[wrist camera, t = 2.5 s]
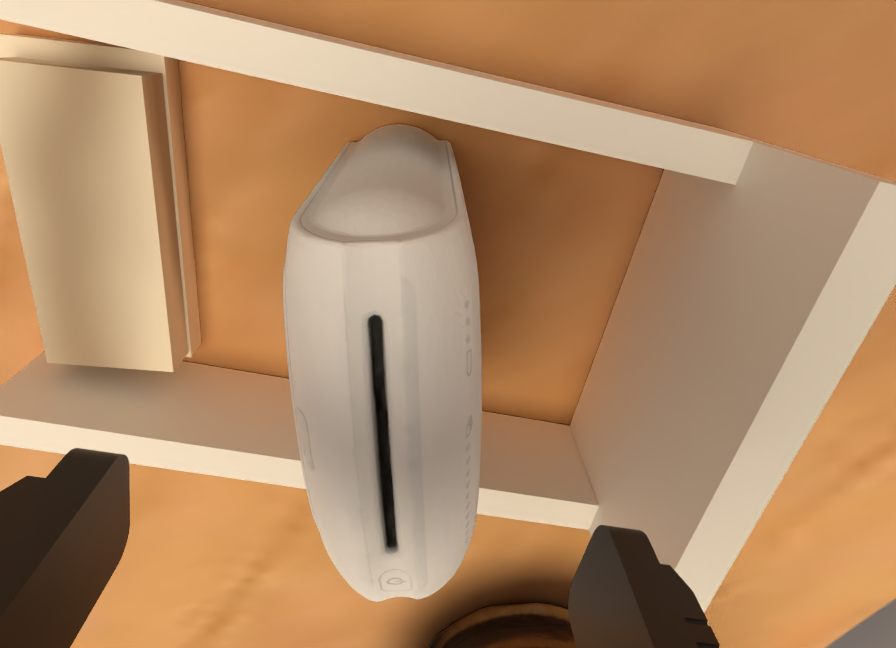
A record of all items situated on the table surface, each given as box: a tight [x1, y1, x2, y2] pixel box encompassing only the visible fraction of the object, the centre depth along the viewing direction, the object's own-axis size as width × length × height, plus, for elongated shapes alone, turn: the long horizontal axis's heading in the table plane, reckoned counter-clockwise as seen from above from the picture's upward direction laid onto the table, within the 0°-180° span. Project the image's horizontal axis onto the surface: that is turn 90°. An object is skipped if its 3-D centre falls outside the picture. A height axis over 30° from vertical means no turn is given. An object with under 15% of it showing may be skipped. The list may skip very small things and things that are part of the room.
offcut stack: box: [0, 34, 202, 372], centre depth 20 cm, size 5×11×3 cm, turn 174°
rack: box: [0, 0, 896, 612], centre depth 18 cm, size 23×14×10 cm, turn 78°
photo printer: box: [283, 124, 482, 602], centre depth 17 cm, size 10×4×12 cm, turn 1°
